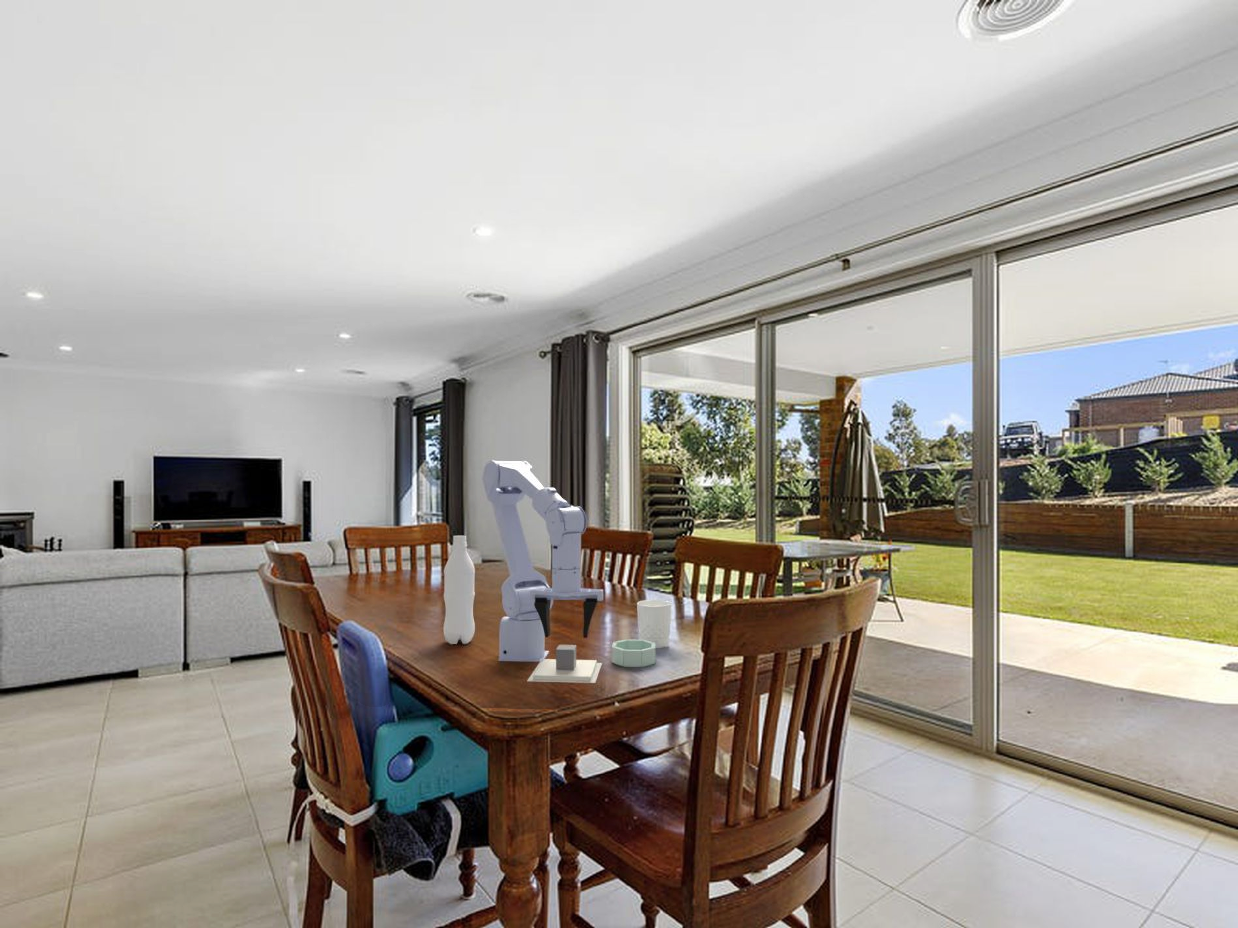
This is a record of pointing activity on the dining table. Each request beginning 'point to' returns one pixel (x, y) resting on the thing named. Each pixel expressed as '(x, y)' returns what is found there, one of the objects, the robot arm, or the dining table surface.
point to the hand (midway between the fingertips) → (566, 636)
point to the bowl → (633, 653)
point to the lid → (565, 666)
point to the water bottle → (459, 594)
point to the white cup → (654, 621)
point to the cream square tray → (569, 680)
